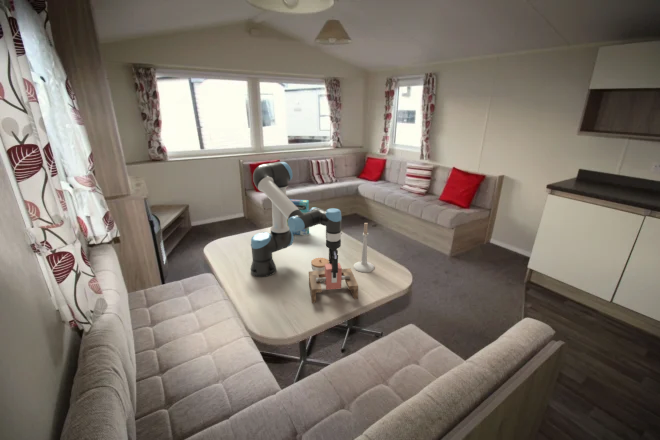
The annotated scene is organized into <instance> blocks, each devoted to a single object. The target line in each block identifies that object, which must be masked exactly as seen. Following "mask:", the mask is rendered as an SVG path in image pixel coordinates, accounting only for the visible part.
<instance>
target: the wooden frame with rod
mask: <svg viewBox="0 0 660 440" xmlns="http://www.w3.org/2000/svg"><path fill="white" fill-rule="evenodd" d="M353 273H354V272H353V271H352V269H351V267H350V268H342V280H343V281H345V284H346V287H347V289H348V290H350V292H351V295H352V297H353V298H352V299H354V300H358V298H359V285H358V282H357V279H356V277H355V275H354V274H353ZM325 281H326V277H325V270H323V271H313V270H312V271H310V270H309V271H308V286H309V291H310V292H309V293H310V297H311V298H310V299H311V303H312V304H315V303H316V304H317V293H322V292H323V288H322V285H321V282H325Z"/></svg>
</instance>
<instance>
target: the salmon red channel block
mask: <svg viewBox="0 0 660 440" xmlns="http://www.w3.org/2000/svg"><path fill="white" fill-rule="evenodd" d="M342 269H343V268H342V266H341V263H340V262H338V273H337V282H336V283H332V282H331V279H332V273H331V271H332V263H331V264H325V277H326V281H324V285H325V290H326V291H327V290H328V291H329V290H338V289H342V282H343V281H342Z"/></svg>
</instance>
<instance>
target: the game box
mask: <svg viewBox="0 0 660 440" xmlns="http://www.w3.org/2000/svg"><path fill="white" fill-rule="evenodd" d="M289 199H290V200H291V201H292V202H293V204H294V205H295V206H296V207H297V208H298V209H299V210H300V211H301V212H302V213H307V212H308V211H309V210H310V208H309V207H310V205H309V204H310V203H309V202H310V200H308V199H291V198H289ZM287 226H288V219H287ZM288 227H289V226H288ZM292 234H293V235H298V236H308V235H309V234H310V227H309V228H306V229H303V230H302V231H297V232H293V231H292Z"/></svg>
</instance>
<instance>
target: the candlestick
mask: <svg viewBox="0 0 660 440" xmlns="http://www.w3.org/2000/svg"><path fill="white" fill-rule="evenodd" d="M368 224H369V223H368V222H364V224H363V226H364V227H363V233H362V237H363V243H362V250H361V260H360V261H357V262H355V263H354V264H353V269H354V270H355V271H356V272H360V273H370V272H373V271H374V270H373V269H375V265H374V264H373V263H371V262H370V261H368V245H367V244H368V238H367V237H368V235H369V232H368Z"/></svg>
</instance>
